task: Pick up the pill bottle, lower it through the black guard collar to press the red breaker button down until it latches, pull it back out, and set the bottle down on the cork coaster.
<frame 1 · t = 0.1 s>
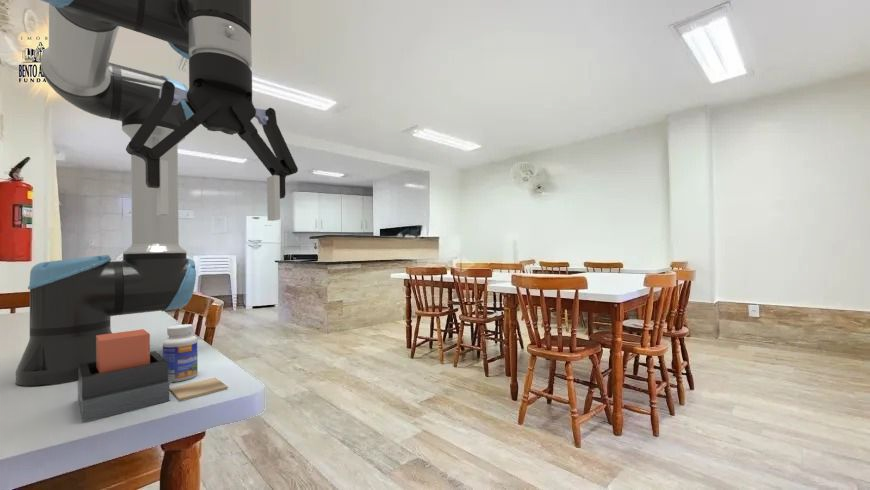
hand: (223, 218, 51), 28 cm above the table, fingers open, 13 cm apart
pill bottle: (180, 378, 70), on the table
breaker panel: (123, 400, 59), on the table
breaker button: (123, 350, 59), point 8 cm above the table, slide at 0.0 cm
coaster: (198, 389, 63), on the table
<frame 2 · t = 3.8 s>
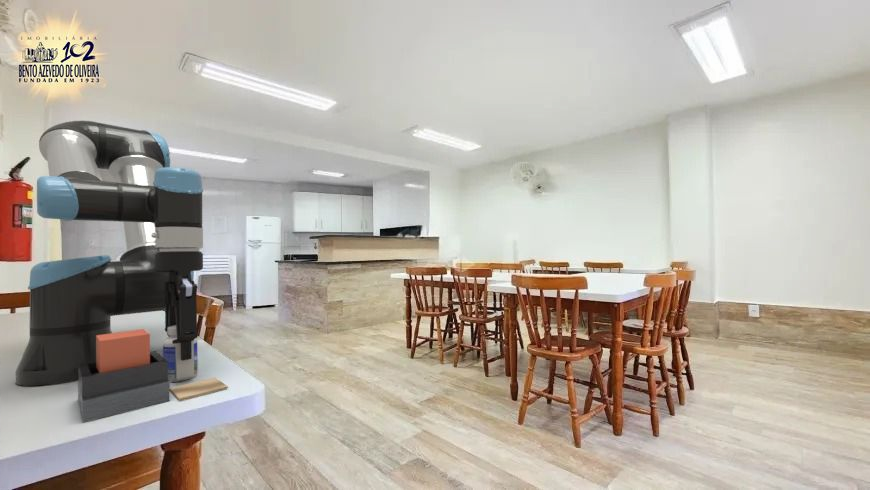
hand: (180, 373, 70), 1 cm above the table, fingers closed on pill bottle, 5 cm apart
pill bottle: (180, 378, 70), on the table, touching gripper
everything else where it was.
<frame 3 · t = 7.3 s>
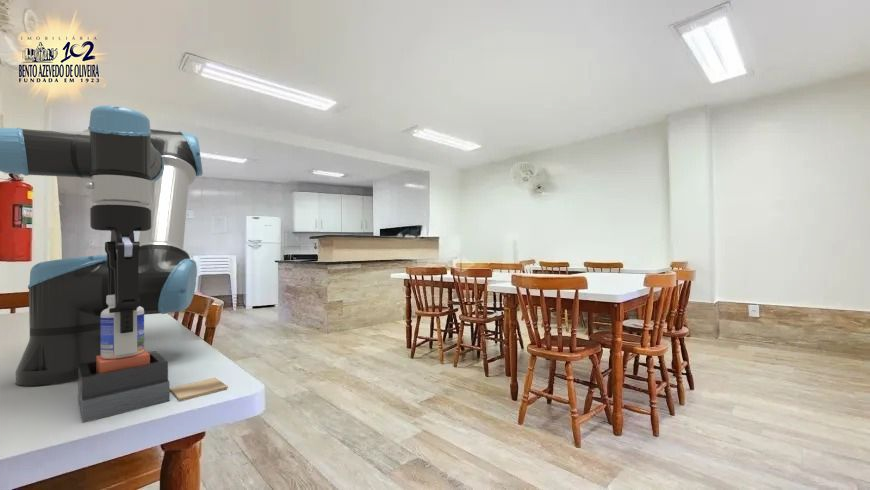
hand: (123, 349, 60), 8 cm above the table, fingers closed on pill bottle, 5 cm apart
pill bottle: (123, 356, 60), point 7 cm above the table, touching breaker button, gripper
breaker button: (123, 370, 59), point 5 cm above the table, slide at 3.3 cm, touching pill bottle
when the fingers open (3 cm above the table, at t = 11.6 s): pill bottle drops 1 cm, resting on coaster.
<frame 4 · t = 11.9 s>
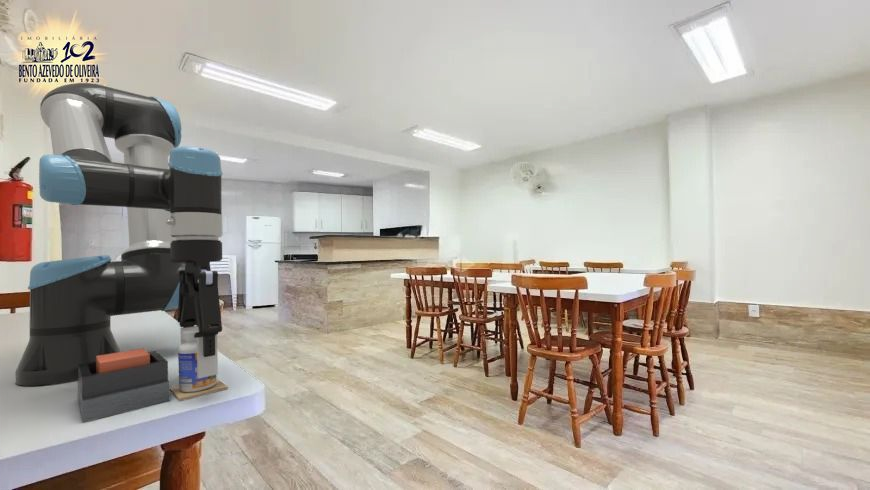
hand: (198, 369, 63), 3 cm above the table, fingers open, 10 cm apart
pill bottle: (198, 388, 63), resting on coaster
breaker button: (123, 370, 59), point 5 cm above the table, slide at 3.3 cm
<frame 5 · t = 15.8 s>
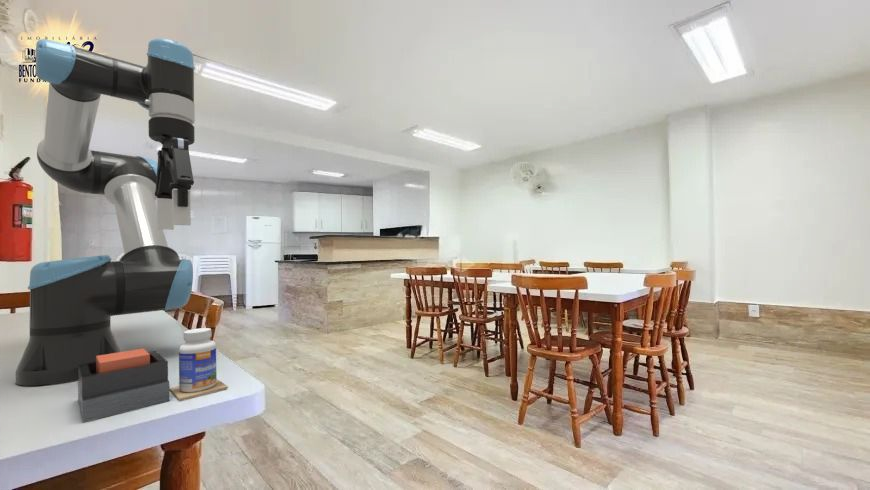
hand: (173, 227, 74), 29 cm above the table, fingers open, 13 cm apart
nothing on the table moved.
at the end: breaker button slide at 3.3 cm; pill bottle inside the target area on the coaster (0.1 cm from its centre), point 0.2 cm above the coaster's base; pill bottle tilted 0° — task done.
